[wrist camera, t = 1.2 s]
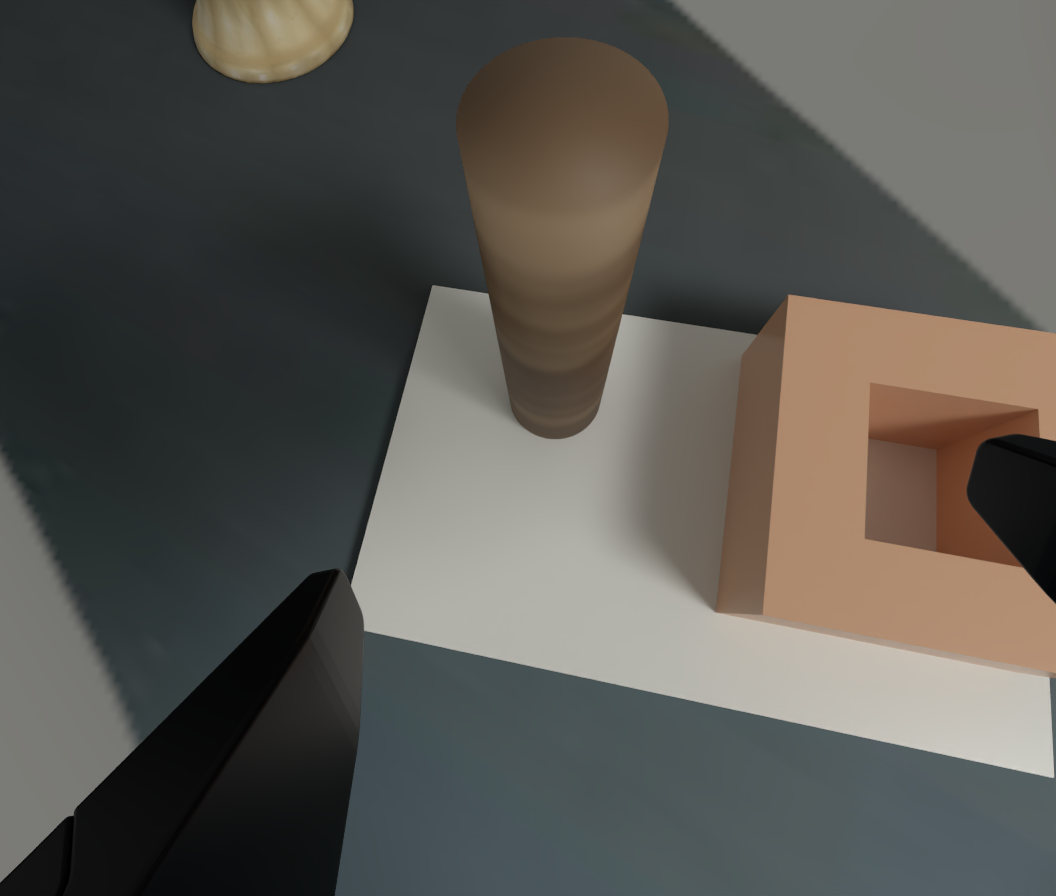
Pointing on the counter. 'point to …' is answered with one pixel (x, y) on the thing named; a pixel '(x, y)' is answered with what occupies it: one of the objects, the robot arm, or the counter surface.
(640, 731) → the counter surface
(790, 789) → the counter surface
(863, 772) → the counter surface
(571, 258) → the walnut peg
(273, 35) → the hand bell
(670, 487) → the collar plate
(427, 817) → the counter surface
